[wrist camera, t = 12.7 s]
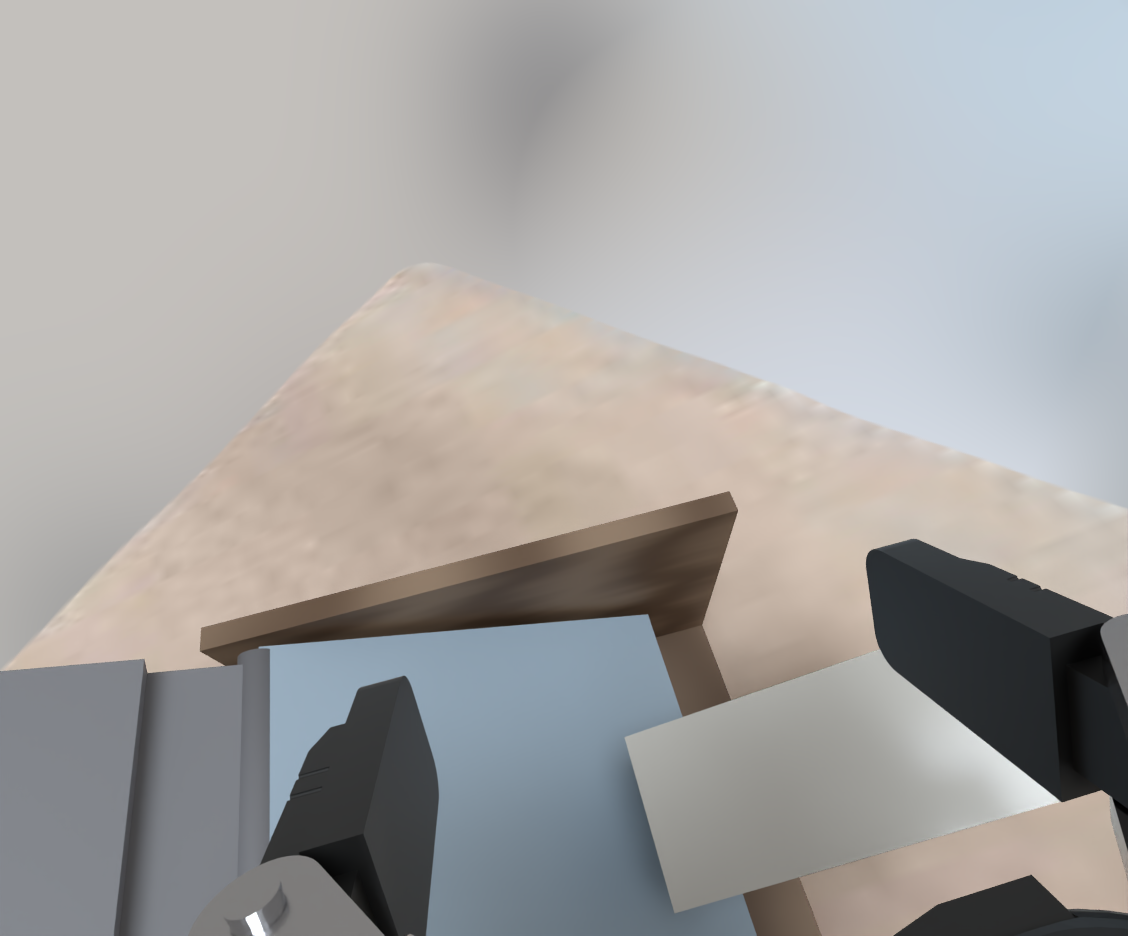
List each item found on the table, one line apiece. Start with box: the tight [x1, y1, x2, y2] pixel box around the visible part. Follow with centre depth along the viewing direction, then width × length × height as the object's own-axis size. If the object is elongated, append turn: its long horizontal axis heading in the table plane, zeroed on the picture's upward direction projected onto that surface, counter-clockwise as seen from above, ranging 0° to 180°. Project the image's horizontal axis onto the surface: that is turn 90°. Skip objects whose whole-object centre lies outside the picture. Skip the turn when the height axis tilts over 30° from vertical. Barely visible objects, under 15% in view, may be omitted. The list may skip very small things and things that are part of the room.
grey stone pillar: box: [624, 649, 1060, 913], centre depth 20 cm, size 5×5×12 cm
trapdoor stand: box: [200, 492, 822, 936], centre depth 23 cm, size 18×18×12 cm
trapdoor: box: [0, 614, 757, 936], centre depth 19 cm, size 22×15×3 cm
